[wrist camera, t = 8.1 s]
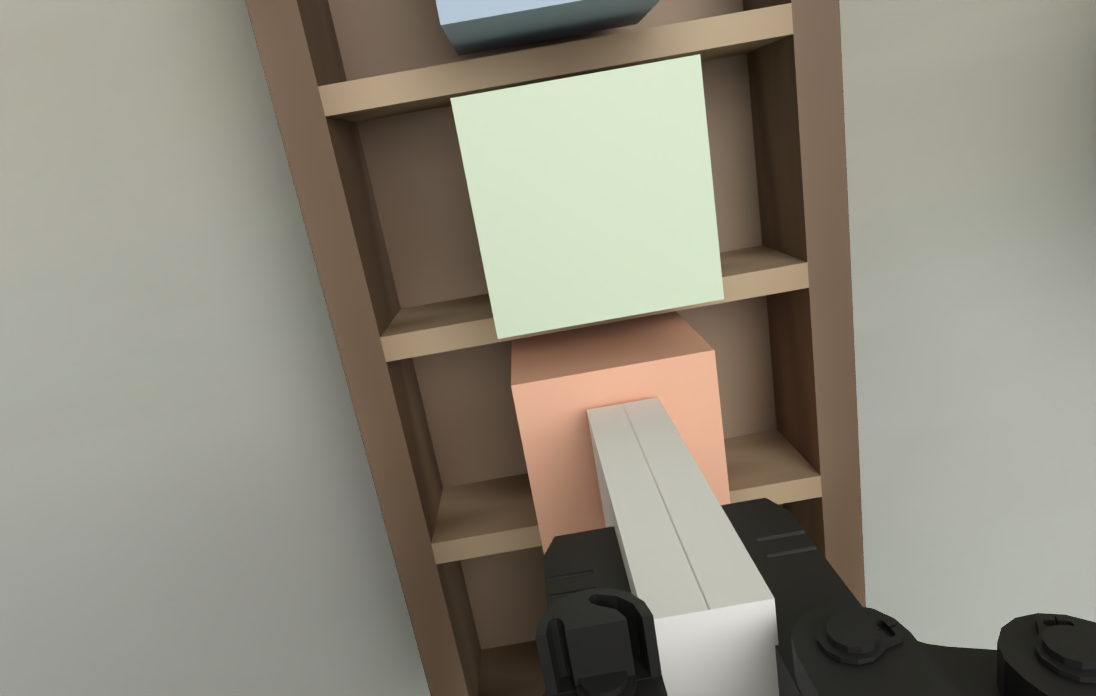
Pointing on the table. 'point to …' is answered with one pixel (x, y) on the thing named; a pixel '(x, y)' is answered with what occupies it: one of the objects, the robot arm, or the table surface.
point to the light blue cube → (531, 20)
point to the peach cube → (603, 380)
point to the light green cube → (592, 195)
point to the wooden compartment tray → (485, 361)
